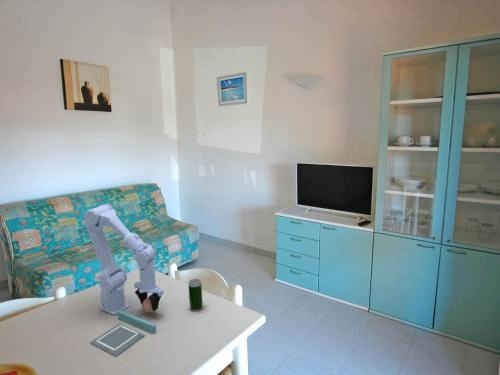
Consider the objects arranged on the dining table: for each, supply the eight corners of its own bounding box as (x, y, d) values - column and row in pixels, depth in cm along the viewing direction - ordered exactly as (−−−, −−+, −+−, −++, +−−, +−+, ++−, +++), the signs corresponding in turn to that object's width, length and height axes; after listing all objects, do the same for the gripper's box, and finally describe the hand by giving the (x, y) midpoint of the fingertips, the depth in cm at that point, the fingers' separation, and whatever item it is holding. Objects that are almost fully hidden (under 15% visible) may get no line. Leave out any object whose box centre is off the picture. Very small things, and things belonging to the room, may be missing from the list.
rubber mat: (90, 343, 108) (89, 340, 108) (119, 324, 118) (119, 322, 118) (116, 356, 101) (115, 354, 101) (144, 336, 111) (144, 333, 111)
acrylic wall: (117, 318, 122) (117, 311, 122) (120, 317, 123) (119, 310, 123) (153, 333, 112) (153, 326, 112) (156, 332, 113) (155, 324, 113)
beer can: (192, 313, 125) (191, 286, 123) (187, 307, 129) (186, 280, 127) (204, 309, 128) (203, 282, 126) (199, 303, 132) (198, 277, 130)
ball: (139, 312, 124) (138, 299, 123) (150, 305, 129) (149, 293, 128) (149, 316, 121) (148, 303, 120) (160, 309, 126) (159, 296, 125)
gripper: (126, 276, 122) (129, 307, 125) (152, 285, 115) (155, 317, 118) (141, 269, 128) (143, 299, 131) (166, 277, 121) (168, 308, 124)
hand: (149, 307), depth 125 cm, fingers closed on ball, 5 cm apart
